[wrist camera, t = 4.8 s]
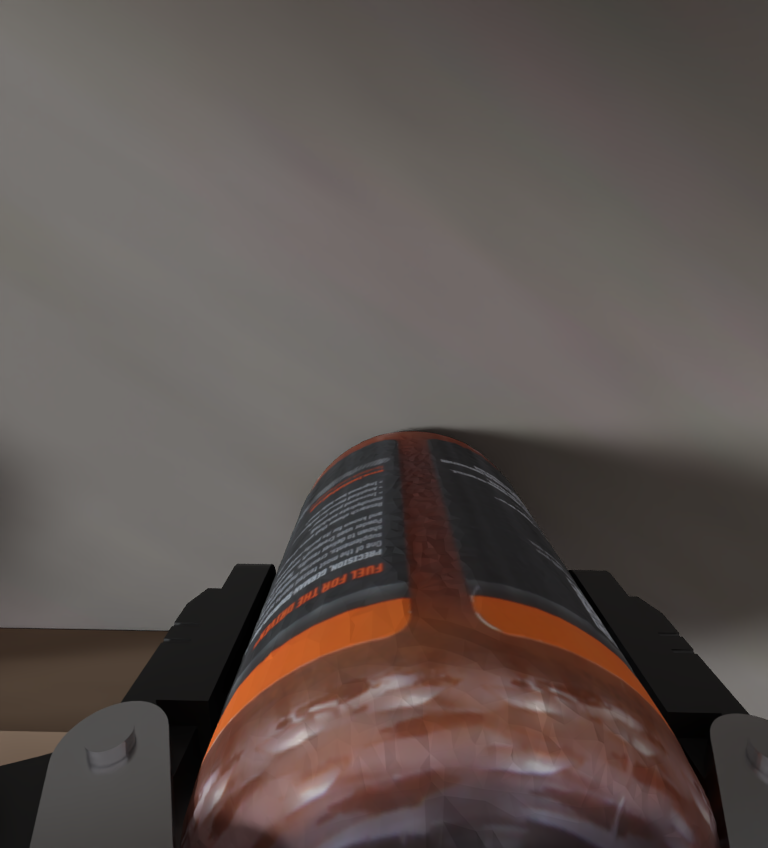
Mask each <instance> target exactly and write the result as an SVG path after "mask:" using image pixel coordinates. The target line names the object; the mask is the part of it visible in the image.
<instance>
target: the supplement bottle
mask: <svg viewBox="0 0 768 848" xmlns="http://www.w3.org/2000/svg"><path fill="white" fill-rule="evenodd" d="M180 848H721V846H720V841H719V835H718V832H717V826H716V821H715V818H714V815H713V812H712V809H711V806H710V803H709V800H708V798H707V796H706V795H705V792H704V790H703V788H702V786H701V784H700V782H699V780H698V778H697V776H696V774H695V773H694V771H693V769H692V767H691V765H690V764H689V762H688V760H687V758H686V756H685V754H684V752H683V749H682V747H681V745H680V744H679V742H678V740H677V738H676V737H675V735H674V733H673V732H672V730H671V728H670V727H669V725H668V724H667V722H666V721H665V719H664V718H663V716H662V714H661V713H660V711H659V710H658V708H657V707H656V705H655V704H654V702H653V701H652V699H651V698H650V696H649V694H648V693H647V691H646V690H645V689H644V687H643V686H642V684H641V683H640V682H639V680H638V679H637V677H636V675H635V674H634V672H633V670H632V669H631V667H630V665H629V664H628V662H627V660H626V659H625V657H624V656H623V654H622V652H621V651H620V650H619V648H618V647H617V645H616V644H615V642H614V641H613V639H612V638H611V636H610V635H609V633H608V632H607V630H606V629H605V627H604V625H603V624H602V622H601V621H600V619H599V618H598V616H597V615H596V613H595V612H594V610H593V609H592V607H591V606H590V604H589V602H588V601H587V599H586V598H585V596H584V595H583V593H582V592H581V590H580V589H579V588H578V586H577V584H576V583H575V581H574V579H573V578H572V576H571V575H570V573H569V572H568V570H567V569H566V567H565V566H564V564H563V563H562V562H561V560H560V558H559V557H558V556H557V554H556V553H555V551H554V550H553V548H552V546H551V545H550V544H549V542H548V541H547V539H546V538H545V536H544V535H543V533H542V531H541V530H540V528H539V527H538V525H537V524H536V522H535V521H534V519H533V518H532V516H531V515H530V513H529V512H528V510H527V509H526V507H525V506H524V504H523V503H522V501H521V500H520V498H519V497H518V495H517V494H516V493H515V491H514V489H513V488H512V486H511V484H510V483H509V482H508V481H507V479H506V478H505V477H504V476H503V475H502V474H501V473H500V471H499V470H498V469H497V468H496V467H495V466H494V465H493V464H492V463H491V462H490V461H489V460H487V459H486V458H485V457H484V456H483V455H482V454H481V453H479V452H478V451H476V450H474V449H473V448H471V447H470V446H468V445H467V444H465V443H463V442H461V441H458V440H456V439H453V438H450V437H447V436H443V435H439V434H435V433H428V432H418V431H407V432H394V433H388V434H383V435H379V436H376V437H373V438H371V439H368V440H366V441H363V442H361V443H360V444H358V445H356V446H354V447H352V448H351V449H349V450H347V451H346V452H344V453H343V454H342V455H340V456H339V457H338V458H337V459H335V460H334V461H333V462H332V463H331V464H330V465H329V466H328V467H327V469H326V470H325V471H324V472H323V473H322V474H321V476H320V477H319V478H318V479H317V481H316V483H315V484H314V486H313V488H312V490H311V492H310V494H309V495H308V496H307V498H306V500H305V503H304V505H303V507H302V509H301V512H300V515H299V518H298V521H297V523H296V526H295V528H294V530H293V532H292V535H291V538H290V541H289V543H288V546H287V548H286V551H285V553H284V556H283V559H282V561H281V564H280V566H279V569H278V571H277V574H276V576H275V578H274V581H273V583H272V586H271V589H270V592H269V594H268V597H267V599H266V601H265V603H264V606H263V608H262V611H261V613H260V617H259V620H258V622H257V624H256V627H255V629H254V632H253V635H252V637H251V640H250V642H249V645H248V647H247V649H246V651H245V653H244V655H243V657H242V662H241V665H240V667H239V669H238V672H237V674H236V677H235V680H234V683H233V685H232V687H231V689H230V691H229V693H228V694H227V697H226V701H225V704H224V707H223V710H222V713H221V716H220V718H219V721H218V724H217V727H216V730H215V732H214V734H213V737H212V739H211V742H210V744H209V746H208V749H207V751H206V754H205V756H204V759H203V761H202V764H201V767H200V770H199V773H198V776H197V779H196V782H195V785H194V789H193V793H192V796H191V799H190V802H189V805H188V808H187V811H186V815H185V818H184V821H183V828H182V834H181V841H180Z"/></svg>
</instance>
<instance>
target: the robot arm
mask: <svg viewBox="0 0 768 848" xmlns="http://www.w3.org/2000/svg"><path fill="white" fill-rule="evenodd" d="M568 572H569V573H570V575H571V576H572V578H573V579H574V581H575V583H576V584H577V586H578V588H579V589H580V590H581V592H582V593H583V595H584V596H585V598H586V599H587V601H588V602H589V604H590V606H591V607H592V609H593V610H594V612H595V613H596V615H597V616H598V618H599V619H600V621H601V622H602V624H603V625H604V627H605V629H606V630H607V632H608V633H609V635H610V636H611V638H612V639H613V641H614V642H615V644H616V645H617V647H618V648H619V650H620V651H621V652H622V654H623V656H624V657H625V659H626V660H627V662H628V664H629V665H630V667H631V669H632V670H633V672H634V674H635V675H636V677H637V679H638V680H639V682H640V683H641V684H642V686H643V687H644V689H645V690H646V691H647V693H648V694H649V696H650V698H651V699H652V701H653V702H654V704H655V705H656V707H657V708H658V710H659V711H660V713H661V714H662V716H663V718H664V719H665V721H666V722H667V724H668V725H669V727H670V728H671V730H672V732H673V733H674V735H675V737H676V738H677V740H678V742H679V744H680V745H681V747H682V749H683V752H684V754H685V756H686V758H687V760H688V762H689V764H690V765H691V767H692V769H693V771H694V773H695V774H696V776H697V778H698V780H699V782H700V784H701V786H702V788H703V790H704V792H705V795H706V796H707V798H708V800H709V803H710V806H711V809H712V812H713V815H714V818H715V821H716V826H717V832H718V835H719V841H720V846H721V848H768V720H766V719H763V718H760V717H756V716H753V715H749V714H748V712H747V711H746V710H745V709H744V708H743V707H742V705H741V704H740V703H739V702H738V701H737V700H736V698H735V697H734V696H733V695H732V694H731V693H730V691H729V690H728V689H727V688H726V687H725V686H724V685H723V683H722V682H721V681H720V680H719V679H718V678H717V676H716V675H715V674H714V673H713V672H712V671H711V669H710V668H709V667H708V666H707V665H706V664H705V663H704V661H703V660H702V659H701V658H700V657H699V656H698V654H694V652H693V649H692V647H691V646H690V645H689V644H688V643H687V642H686V640H685V639H684V638H683V637H680V636H679V632H678V631H677V630H676V629H675V628H674V627H673V625H672V624H671V623H670V622H669V621H668V620H667V618H666V617H665V616H664V615H663V614H662V613H661V612H659V611H658V610H656V609H655V608H653V607H652V606H650V605H649V604H647V603H646V602H644V601H643V600H641V599H640V598H638V597H629V596H628V595H627V594H626V592H625V591H624V590H623V589H622V587H621V586H620V585H619V584H618V582H617V581H616V580H615V579H614V577H613V576H612V575H611V574H610V573H609V572H608V571H593V570H569V571H568ZM275 576H276V570H275V567H274V565H273V564H237V565H235V567H234V568H233V570H232V572H231V573H230V575H229V577H228V579H227V580H226V582H225V584H224V585H223V587H222V589H216V588H208V589H207V590H205V591H204V592H202V593H201V594H200V595H198V596H197V597H196V598H194V599H193V600H192V601H190V602H189V603H188V604H187V605H186V606H185V608H184V609H183V611H182V612H181V614H180V615H179V617H178V618H177V620H176V621H175V624H174V626H172V627H171V629H170V630H169V631H168V633H167V634H166V636H165V637H164V641H163V643H160V645H159V646H158V648H157V649H156V651H155V652H154V654H153V655H152V657H151V658H150V660H149V661H148V663H147V664H146V666H145V667H144V669H143V670H142V671H141V673H140V674H139V676H138V677H137V679H136V680H135V682H134V683H133V685H132V686H131V688H130V689H129V691H128V692H127V694H126V695H125V697H124V698H123V700H122V701H121V703H118V704H114V705H112V706H109V707H106V708H103V709H101V710H99V711H97V712H95V713H93V714H91V715H90V716H88V717H86V718H85V719H83V720H82V721H81V722H79V723H78V724H77V725H75V726H74V727H73V728H72V729H71V730H70V731H69V732H68V733H67V734H66V735H65V736H64V737H63V738H62V739H61V740H60V742H59V743H58V745H57V746H56V748H55V749H54V751H53V752H52V753H49V754H45V755H42V756H38V757H34V758H30V759H26V760H22V761H18V762H14V763H10V764H6V765H2V766H0V848H180V841H181V834H182V828H183V821H184V818H185V815H186V811H187V808H188V805H189V802H190V799H191V796H192V793H193V789H194V785H195V782H196V779H197V776H198V773H199V770H200V767H201V764H202V761H203V759H204V756H205V754H206V751H207V749H208V746H209V744H210V742H211V739H212V737H213V734H214V732H215V730H216V727H217V724H218V721H219V718H220V716H221V713H222V710H223V707H224V704H225V701H226V697H227V694H228V693H229V691H230V689H231V687H232V685H233V683H234V680H235V677H236V674H237V672H238V669H239V667H240V665H241V662H242V657H243V655H244V653H245V651H246V649H247V647H248V645H249V642H250V640H251V637H252V635H253V632H254V629H255V627H256V624H257V622H258V620H259V617H260V613H261V611H262V608H263V606H264V603H265V601H266V599H267V597H268V594H269V592H270V589H271V586H272V583H273V581H274V578H275Z"/></svg>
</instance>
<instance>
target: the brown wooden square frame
mask: <svg viewBox="0 0 768 848" xmlns="http://www.w3.org/2000/svg"><path fill="white" fill-rule="evenodd" d="M167 633H168V631H118V630H65V629H12V628H0V766H2V765H6V764H10V763H14V762H18V761H22V760H26V759H30V758H34V757H38V756H42V755H45V754H49V753H52V752H53V751H54V749H55V748H56V746H57V745H58V743H59V742H60V740H61V739H62V738H63V737H64V736H65V735H66V734H67V733H68V732H69V731H70V730H71V729H72V728H73V727H74V726H75V725H77V724H78V723H79V722H81V721H82V720H83V719H85V718H86V717H88V716H90V715H91V714H93V713H95V712H97V711H99V710H101V709H103V708H106V707H109V706H112V705H114V704H118V703H121V701H122V700H123V698H124V697H125V695H126V694H127V692H128V691H129V689H130V688H131V686H132V685H133V683H134V682H135V680H136V679H137V677H138V676H139V674H140V673H141V671H142V670H143V669H144V667H145V666H146V664H147V663H148V661H149V660H150V658H151V657H152V655H153V654H154V652H155V651H156V649H157V648H158V646H159V645H160V643H163V641H164V637H165V636H166V634H167Z"/></svg>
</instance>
